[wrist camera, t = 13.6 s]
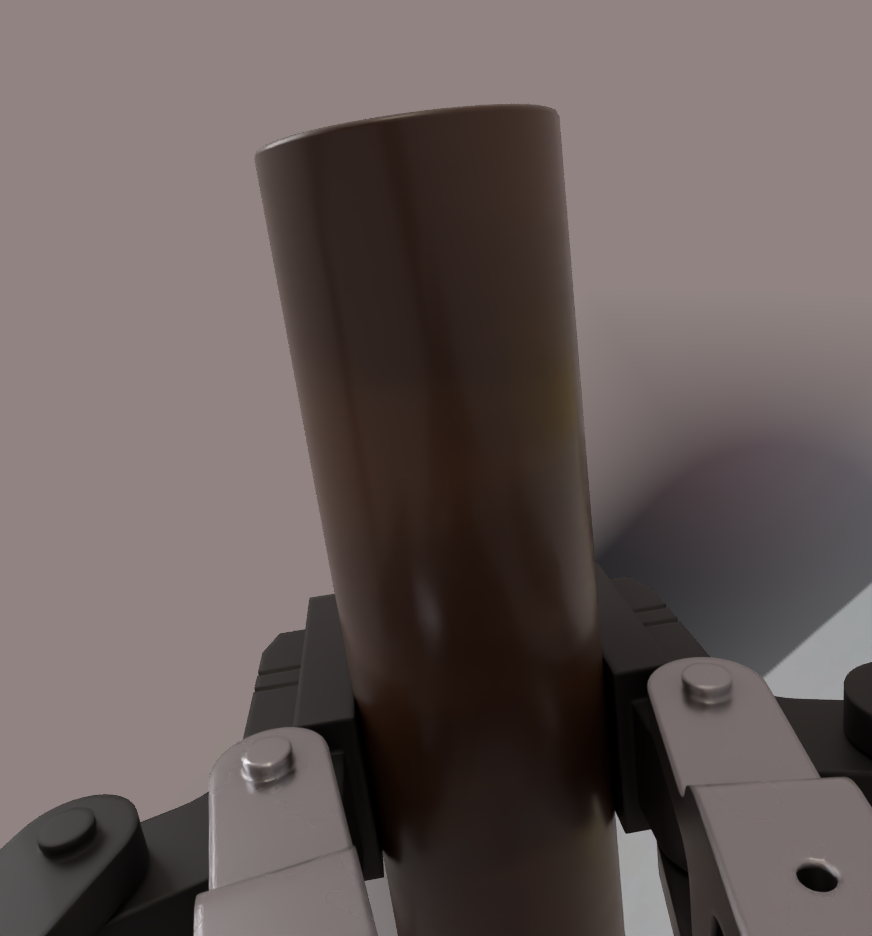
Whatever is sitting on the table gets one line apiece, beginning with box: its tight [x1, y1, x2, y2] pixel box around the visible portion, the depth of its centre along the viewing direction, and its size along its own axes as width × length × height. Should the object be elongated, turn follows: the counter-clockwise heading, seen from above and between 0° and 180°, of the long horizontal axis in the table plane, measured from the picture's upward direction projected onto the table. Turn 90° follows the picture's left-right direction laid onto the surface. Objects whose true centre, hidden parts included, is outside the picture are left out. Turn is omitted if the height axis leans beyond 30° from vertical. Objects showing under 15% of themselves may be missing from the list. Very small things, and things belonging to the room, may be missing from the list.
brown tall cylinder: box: [255, 104, 625, 936], centre depth 10 cm, size 4×4×16 cm
